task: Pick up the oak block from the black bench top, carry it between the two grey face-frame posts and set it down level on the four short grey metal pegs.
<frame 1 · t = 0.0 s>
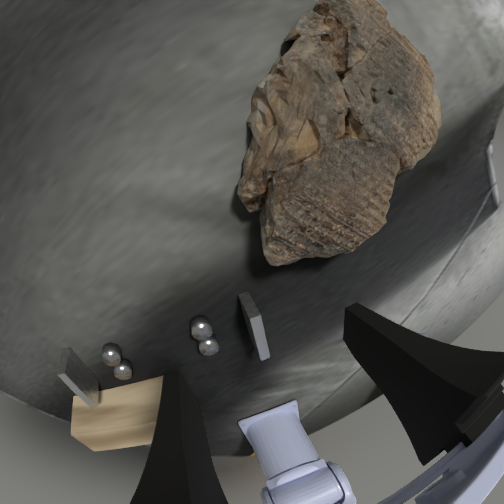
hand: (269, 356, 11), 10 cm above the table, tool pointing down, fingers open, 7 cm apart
peg frame: (158, 345, 22), on the table
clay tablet: (330, 131, 19), on the table
oak block: (129, 395, 24), on the table
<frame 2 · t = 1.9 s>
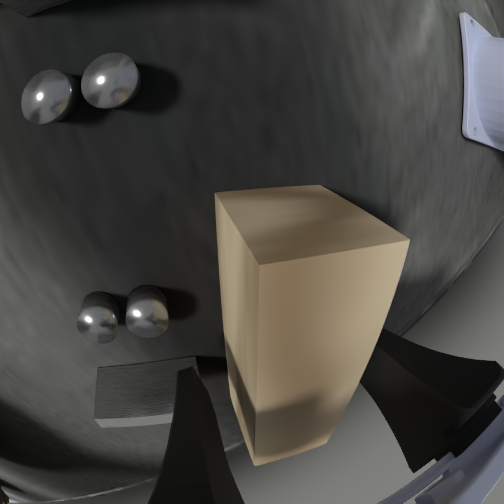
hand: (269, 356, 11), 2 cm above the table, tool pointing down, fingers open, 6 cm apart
peg frame: (98, 209, 8), on the table
oak block: (265, 315, 13), on the table
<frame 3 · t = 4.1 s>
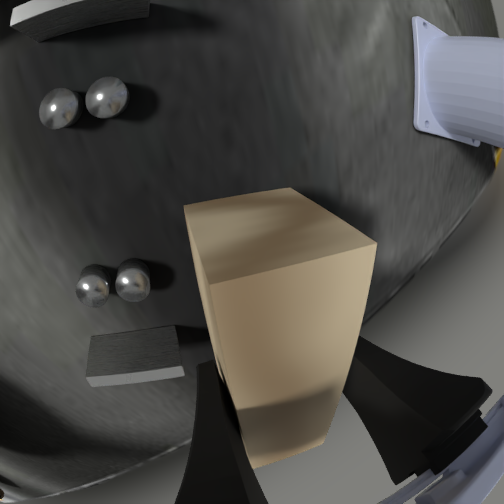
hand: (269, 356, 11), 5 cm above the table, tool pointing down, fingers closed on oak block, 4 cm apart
peg frame: (96, 195, 10), on the table
oak block: (250, 321, 13), point 2 cm above the table, touching gripper
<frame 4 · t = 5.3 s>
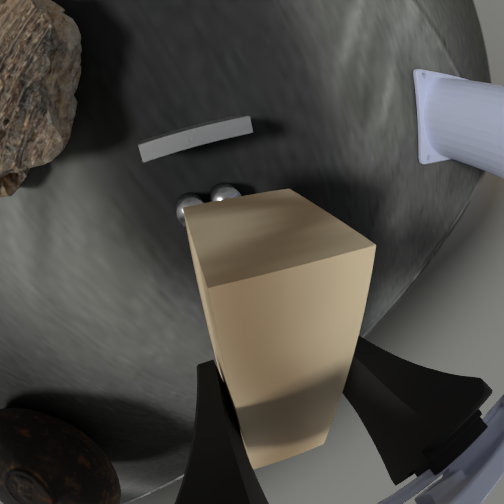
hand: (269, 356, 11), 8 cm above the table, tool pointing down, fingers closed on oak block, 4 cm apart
peg frame: (221, 259, 18), on the table
glass bottle: (45, 427, 20), on the table
oak block: (250, 322, 13), point 6 cm above the table, touching gripper
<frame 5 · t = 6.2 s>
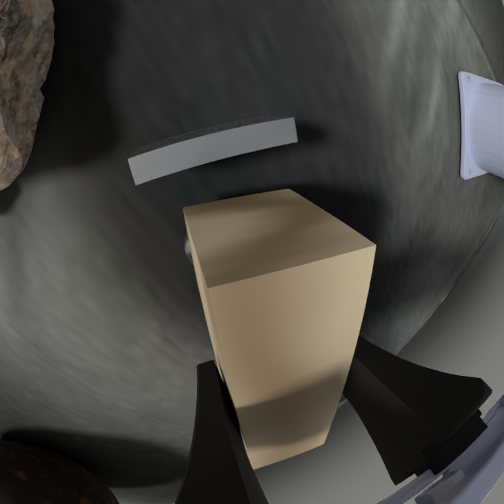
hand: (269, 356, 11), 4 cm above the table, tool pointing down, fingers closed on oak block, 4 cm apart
peg frame: (241, 300, 14), on the table
glass bottle: (43, 457, 17), on the table
oak block: (250, 322, 13), point 2 cm above the table, touching gripper
when the fingers open (4 cm above the table, at t = 6.8 s): oak block stays where it is, resting on peg frame.
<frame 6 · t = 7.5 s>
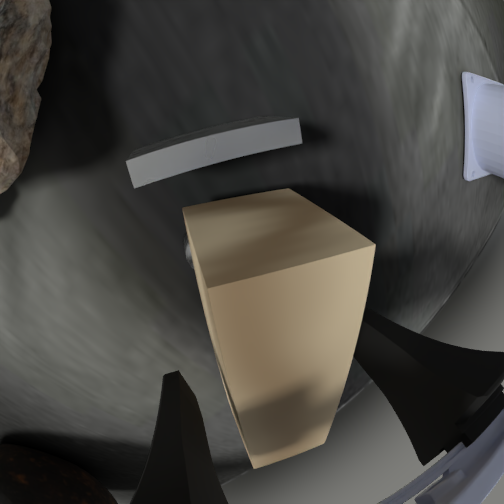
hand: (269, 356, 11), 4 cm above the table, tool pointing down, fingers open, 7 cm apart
peg frame: (243, 304, 14), on the table
glass bottle: (42, 460, 16), on the table
oak block: (251, 321, 13), point 1 cm above the table, touching peg frame
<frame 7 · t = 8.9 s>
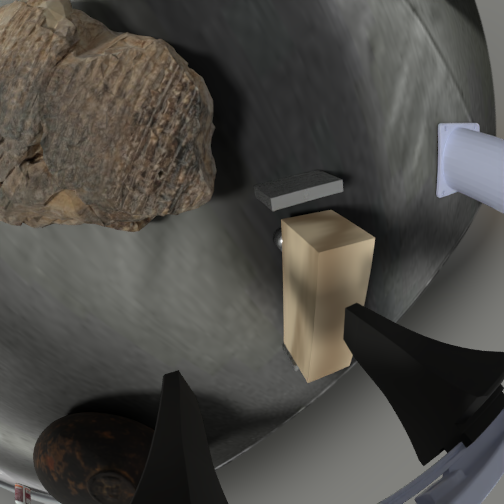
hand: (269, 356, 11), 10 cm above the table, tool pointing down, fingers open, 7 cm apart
peg frame: (299, 275, 23), on the table
glass bottle: (105, 428, 26), on the table
pill bottle: (22, 485, 31), on the table
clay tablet: (67, 122, 13), on the table
oak block: (306, 284, 22), point 1 cm above the table, touching peg frame
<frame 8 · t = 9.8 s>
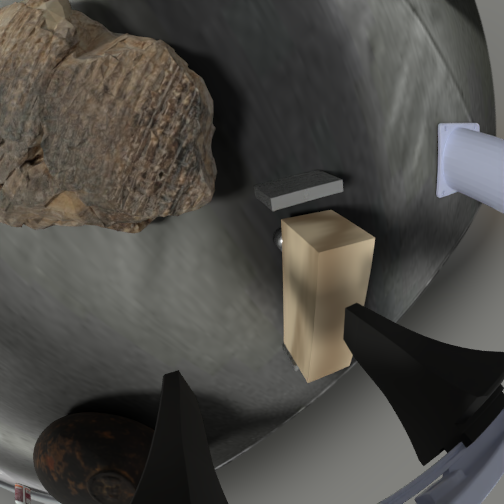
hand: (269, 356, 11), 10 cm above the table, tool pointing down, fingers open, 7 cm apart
peg frame: (299, 275, 23), on the table
glass bottle: (105, 428, 26), on the table
pill bottle: (22, 485, 31), on the table
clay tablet: (68, 124, 13), on the table
oak block: (306, 284, 22), point 1 cm above the table, touching peg frame
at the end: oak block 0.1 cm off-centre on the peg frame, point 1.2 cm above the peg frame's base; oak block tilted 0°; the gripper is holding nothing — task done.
